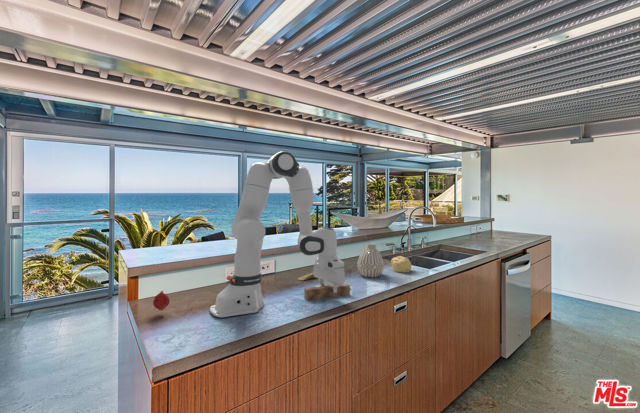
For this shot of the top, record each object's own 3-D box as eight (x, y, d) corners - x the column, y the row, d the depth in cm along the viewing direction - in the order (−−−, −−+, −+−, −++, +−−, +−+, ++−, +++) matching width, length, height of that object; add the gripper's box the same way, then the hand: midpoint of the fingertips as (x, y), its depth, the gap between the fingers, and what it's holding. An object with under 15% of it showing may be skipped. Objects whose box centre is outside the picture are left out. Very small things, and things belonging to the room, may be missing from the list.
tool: (300, 282, 166) (299, 274, 166) (297, 281, 171) (296, 273, 172) (335, 275, 175) (334, 267, 175) (331, 274, 181) (330, 266, 181)
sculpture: (388, 271, 192) (388, 255, 192) (402, 270, 197) (402, 254, 197) (400, 275, 181) (400, 258, 181) (414, 273, 187) (415, 256, 187)
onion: (152, 313, 117) (152, 293, 117) (154, 309, 122) (154, 289, 122) (168, 311, 119) (168, 292, 119) (169, 307, 124) (169, 288, 124)
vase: (389, 277, 176) (389, 244, 176) (370, 281, 167) (370, 246, 167) (370, 272, 190) (370, 241, 189) (351, 275, 181) (352, 243, 180)
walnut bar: (306, 301, 134) (306, 290, 134) (304, 298, 137) (304, 288, 137) (349, 295, 142) (349, 285, 142) (346, 293, 145) (346, 283, 145)
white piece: (329, 294, 143) (329, 281, 143) (314, 288, 154) (314, 276, 154) (350, 289, 151) (350, 277, 151) (335, 283, 162) (335, 273, 162)
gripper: (310, 258, 146) (310, 286, 146) (336, 265, 130) (336, 296, 130) (320, 257, 150) (320, 284, 150) (346, 263, 133) (347, 293, 133)
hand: (328, 290), depth 140 cm, fingers open, 8 cm apart
